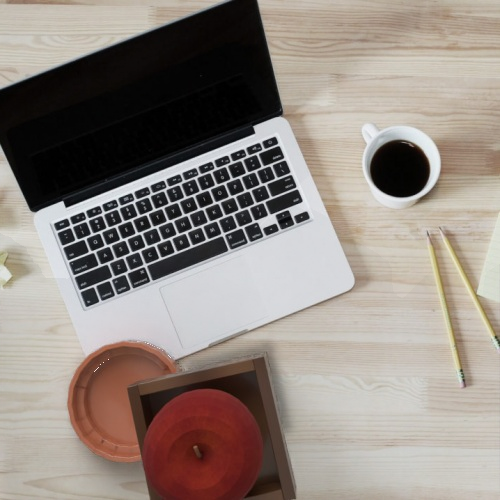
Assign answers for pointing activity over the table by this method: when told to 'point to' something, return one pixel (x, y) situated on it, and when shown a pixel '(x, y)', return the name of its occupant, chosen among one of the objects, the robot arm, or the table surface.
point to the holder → (241, 387)
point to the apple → (203, 448)
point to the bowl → (113, 396)
